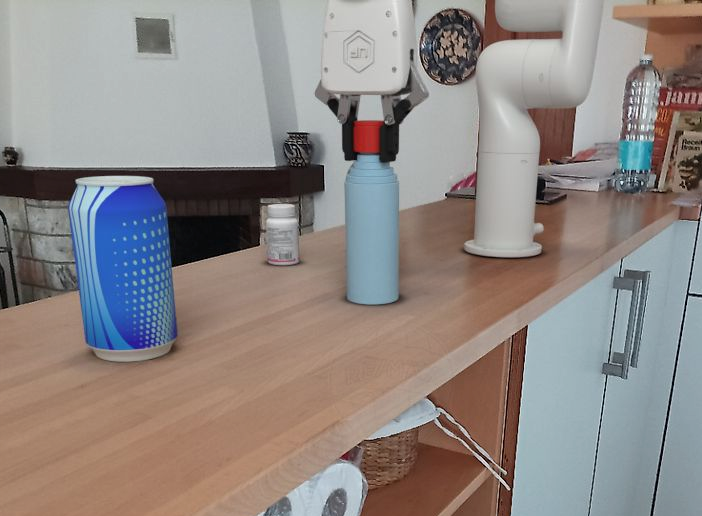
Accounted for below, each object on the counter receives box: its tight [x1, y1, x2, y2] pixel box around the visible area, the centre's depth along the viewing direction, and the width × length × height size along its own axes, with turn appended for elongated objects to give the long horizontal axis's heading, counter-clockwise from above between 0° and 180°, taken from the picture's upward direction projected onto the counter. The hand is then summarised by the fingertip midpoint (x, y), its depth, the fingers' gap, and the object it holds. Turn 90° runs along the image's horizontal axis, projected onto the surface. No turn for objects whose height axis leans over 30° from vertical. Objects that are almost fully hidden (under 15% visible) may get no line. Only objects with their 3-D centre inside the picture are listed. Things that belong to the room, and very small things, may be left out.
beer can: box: [67, 175, 179, 363], centre depth 72 cm, size 8×8×16 cm
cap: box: [354, 119, 384, 153], centre depth 89 cm, size 4×4×3 cm
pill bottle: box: [265, 203, 301, 266], centre depth 115 cm, size 5×5×8 cm
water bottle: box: [343, 152, 400, 306], centre depth 93 cm, size 6×6×20 cm
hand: (370, 159), depth 90 cm, fingers closed on cap, 3 cm apart
